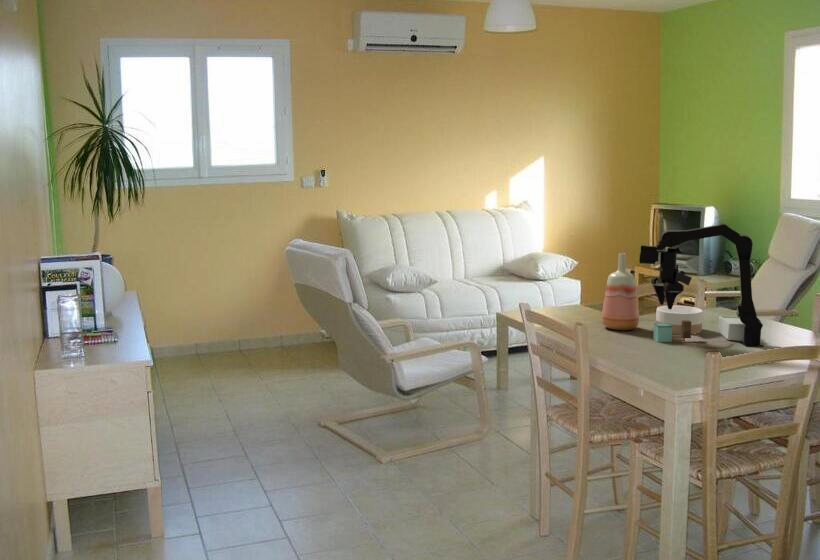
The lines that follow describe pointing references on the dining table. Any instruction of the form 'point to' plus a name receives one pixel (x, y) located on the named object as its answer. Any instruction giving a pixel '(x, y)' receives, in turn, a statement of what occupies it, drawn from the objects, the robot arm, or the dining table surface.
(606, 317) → the vase
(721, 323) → the skincare box
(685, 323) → the post block
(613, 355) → the dining table surface
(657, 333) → the teal tilted box
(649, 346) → the dining table surface
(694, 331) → the bowl
